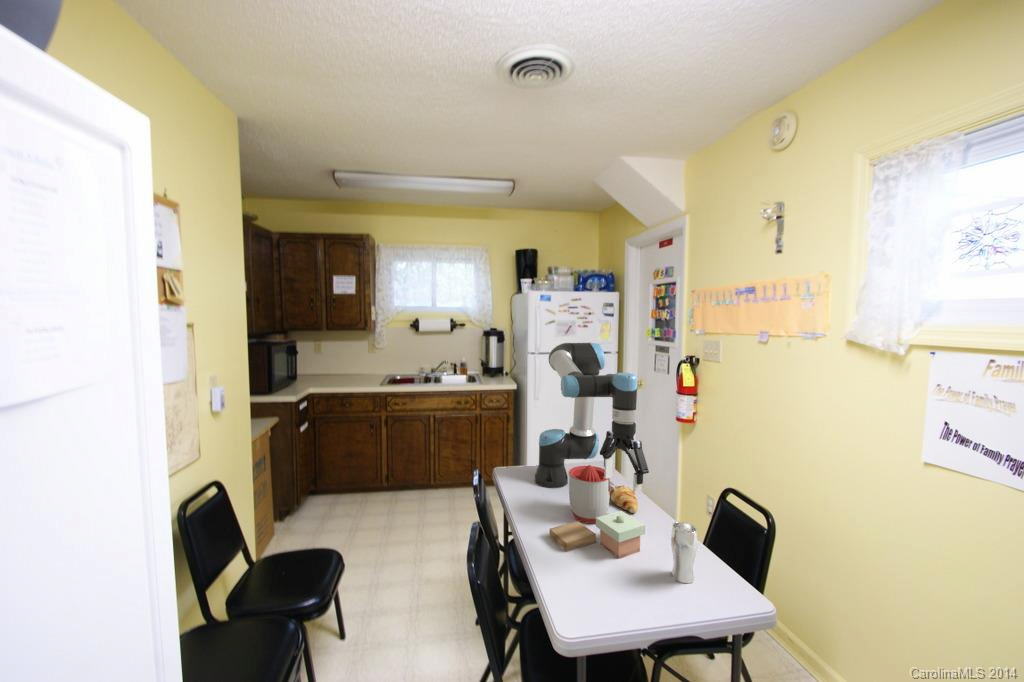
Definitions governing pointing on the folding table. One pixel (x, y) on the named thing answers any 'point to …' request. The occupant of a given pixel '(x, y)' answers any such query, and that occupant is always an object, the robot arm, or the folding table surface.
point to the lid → (620, 526)
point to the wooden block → (572, 536)
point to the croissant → (624, 498)
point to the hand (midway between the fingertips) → (622, 485)
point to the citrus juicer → (589, 492)
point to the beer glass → (683, 551)
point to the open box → (620, 545)
